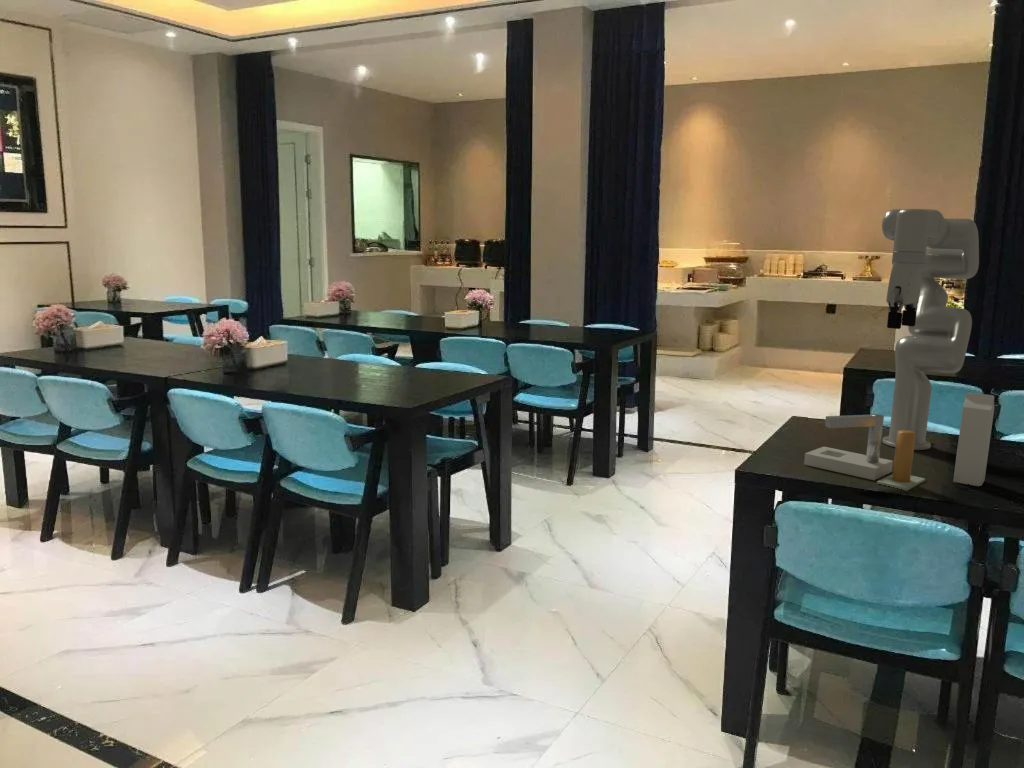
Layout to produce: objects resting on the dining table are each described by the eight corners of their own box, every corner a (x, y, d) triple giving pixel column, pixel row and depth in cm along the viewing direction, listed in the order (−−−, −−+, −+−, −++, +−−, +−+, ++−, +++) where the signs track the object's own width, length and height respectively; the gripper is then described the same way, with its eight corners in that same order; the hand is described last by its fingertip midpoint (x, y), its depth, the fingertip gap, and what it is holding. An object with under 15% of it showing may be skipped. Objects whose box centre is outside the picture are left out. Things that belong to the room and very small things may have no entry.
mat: (895, 474, 203) (895, 472, 203) (924, 480, 198) (925, 478, 198) (876, 483, 195) (876, 481, 194) (906, 490, 190) (907, 488, 190)
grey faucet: (820, 461, 200) (824, 415, 198) (873, 458, 204) (878, 413, 202) (827, 465, 198) (832, 418, 196) (881, 462, 202) (886, 416, 199)
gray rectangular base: (822, 457, 217) (823, 446, 217) (891, 472, 205) (892, 460, 204) (804, 464, 210) (805, 453, 209) (874, 480, 197) (875, 468, 197)
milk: (980, 487, 194) (993, 397, 190) (952, 482, 198) (964, 393, 194) (984, 481, 199) (996, 393, 195) (956, 476, 203) (968, 390, 198)
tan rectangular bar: (895, 476, 199) (901, 429, 197) (912, 480, 196) (918, 432, 194) (889, 479, 196) (894, 431, 194) (906, 483, 193) (912, 434, 191)
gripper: (905, 258, 211) (898, 323, 214) (879, 258, 199) (872, 327, 202) (936, 259, 206) (928, 326, 209) (911, 260, 194) (903, 330, 197)
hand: (901, 327), depth 206 cm, fingers open, 9 cm apart
